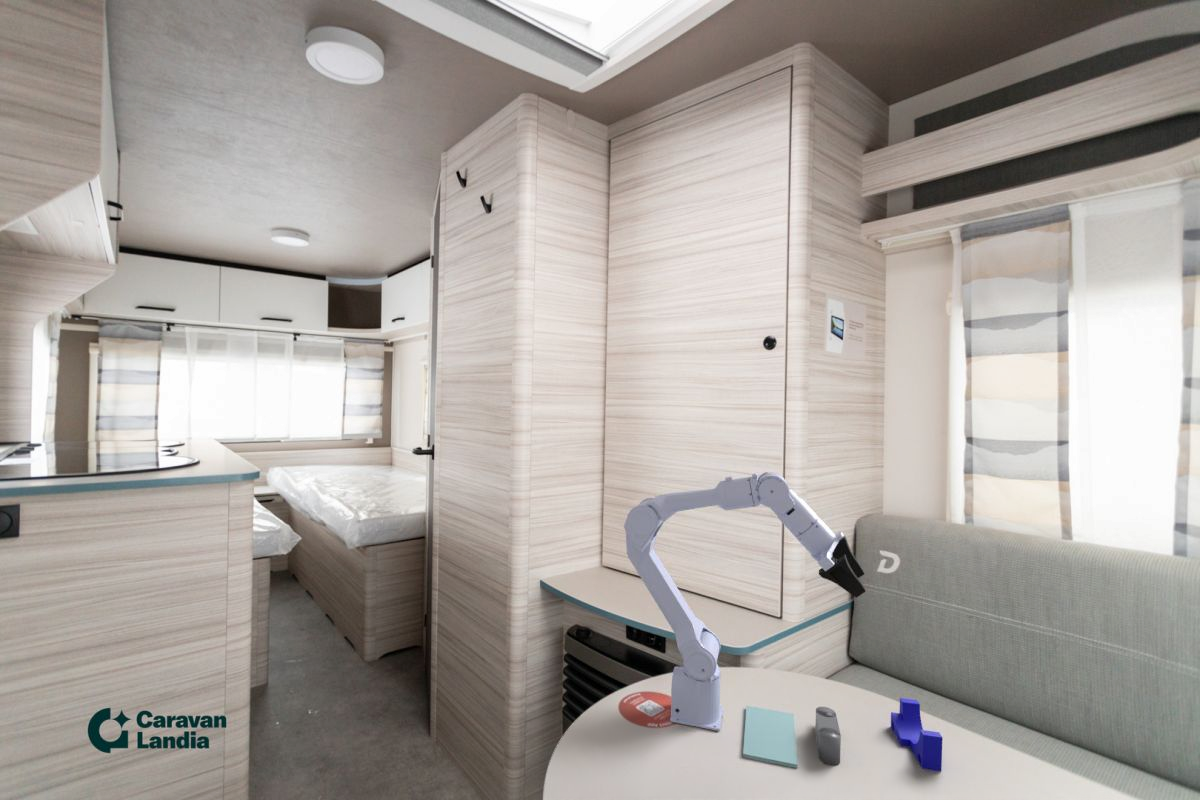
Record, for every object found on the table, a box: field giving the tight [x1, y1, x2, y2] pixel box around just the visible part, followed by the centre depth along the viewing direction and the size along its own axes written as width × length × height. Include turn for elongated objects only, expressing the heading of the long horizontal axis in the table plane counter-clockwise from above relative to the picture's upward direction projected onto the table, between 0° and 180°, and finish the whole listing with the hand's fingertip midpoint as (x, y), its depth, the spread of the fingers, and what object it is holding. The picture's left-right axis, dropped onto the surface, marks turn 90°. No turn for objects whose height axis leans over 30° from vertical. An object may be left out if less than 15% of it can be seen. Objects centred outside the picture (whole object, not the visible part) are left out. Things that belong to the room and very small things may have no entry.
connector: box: [814, 706, 842, 766], centre depth 101 cm, size 4×12×4 cm, turn 163°
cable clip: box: [890, 697, 943, 772], centre depth 101 cm, size 12×4×6 cm, turn 169°
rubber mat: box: [742, 705, 799, 769], centre depth 103 cm, size 9×16×1 cm, turn 163°
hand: (860, 584), depth 100 cm, fingers open, 7 cm apart
